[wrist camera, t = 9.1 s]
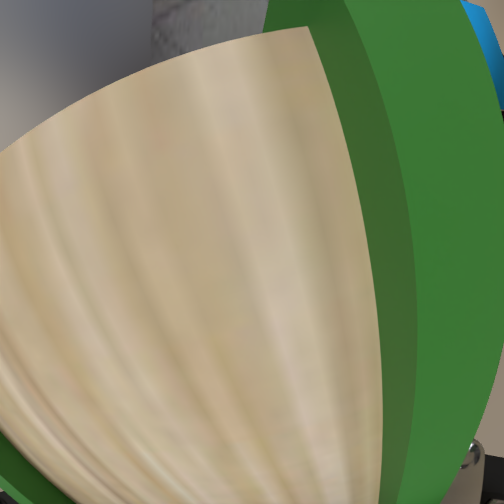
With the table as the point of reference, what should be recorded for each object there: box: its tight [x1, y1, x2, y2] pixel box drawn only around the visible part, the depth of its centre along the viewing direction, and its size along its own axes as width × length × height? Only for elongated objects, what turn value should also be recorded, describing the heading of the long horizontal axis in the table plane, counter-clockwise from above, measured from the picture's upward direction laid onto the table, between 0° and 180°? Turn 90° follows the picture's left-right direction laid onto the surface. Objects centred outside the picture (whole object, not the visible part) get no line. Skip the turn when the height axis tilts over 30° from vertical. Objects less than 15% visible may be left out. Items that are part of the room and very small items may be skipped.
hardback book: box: [0, 0, 504, 504], centre depth 15 cm, size 18×7×24 cm, turn 17°
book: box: [460, 0, 504, 111], centre depth 36 cm, size 17×4×25 cm
